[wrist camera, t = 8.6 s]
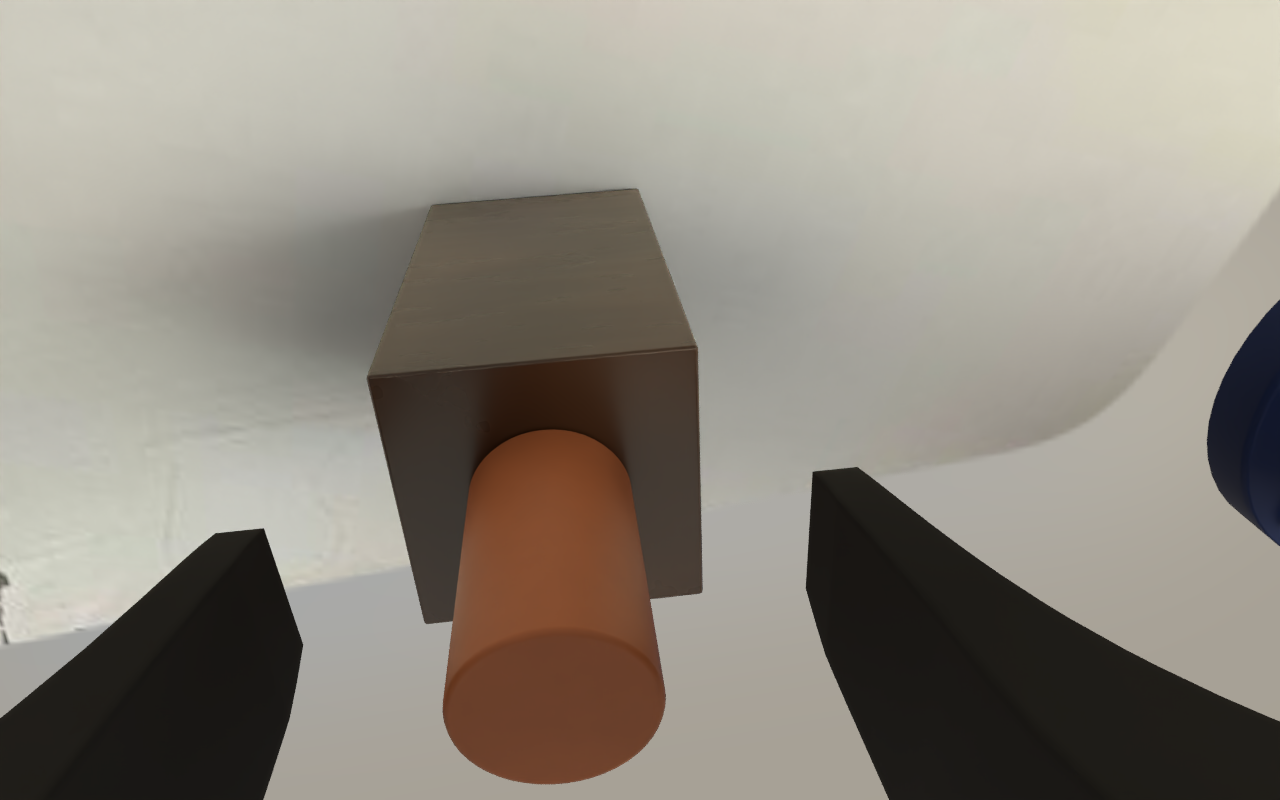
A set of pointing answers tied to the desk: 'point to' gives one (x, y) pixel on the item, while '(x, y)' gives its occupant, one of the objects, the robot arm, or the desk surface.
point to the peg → (552, 616)
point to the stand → (539, 371)
